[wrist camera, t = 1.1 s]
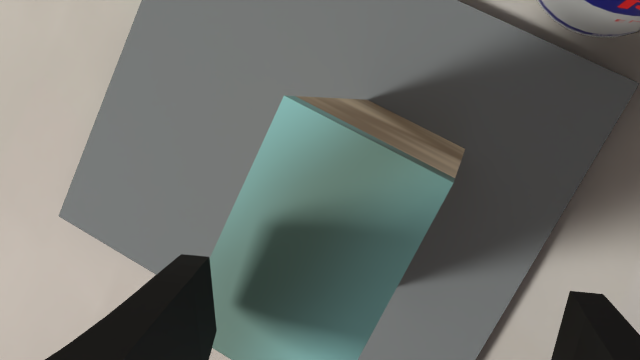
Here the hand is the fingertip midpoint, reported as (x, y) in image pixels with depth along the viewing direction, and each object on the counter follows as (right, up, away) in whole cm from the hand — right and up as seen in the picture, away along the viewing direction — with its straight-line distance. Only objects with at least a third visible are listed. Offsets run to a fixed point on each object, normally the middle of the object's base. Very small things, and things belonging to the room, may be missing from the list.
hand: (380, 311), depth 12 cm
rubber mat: (-1, +4, +12) cm, 12 cm away
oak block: (+1, +2, +11) cm, 11 cm away
